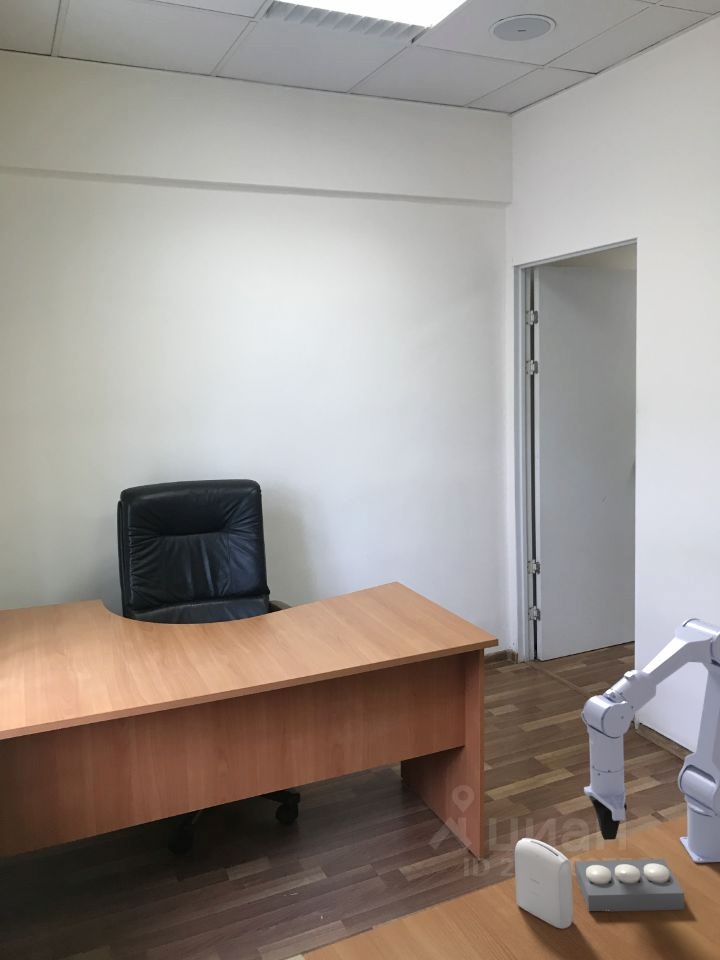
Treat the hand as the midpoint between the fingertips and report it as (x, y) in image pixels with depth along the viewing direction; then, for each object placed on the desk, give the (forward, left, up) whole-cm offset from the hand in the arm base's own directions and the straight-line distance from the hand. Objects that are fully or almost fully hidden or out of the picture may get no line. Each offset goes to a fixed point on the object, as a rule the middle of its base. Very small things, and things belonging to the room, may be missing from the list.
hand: (608, 837), depth 145 cm
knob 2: (-7, +3, -9) cm, 12 cm away
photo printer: (+13, +8, -9) cm, 18 cm away
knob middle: (-2, +3, -9) cm, 9 cm away
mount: (-2, +3, -9) cm, 9 cm away
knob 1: (+3, +3, -9) cm, 10 cm away
